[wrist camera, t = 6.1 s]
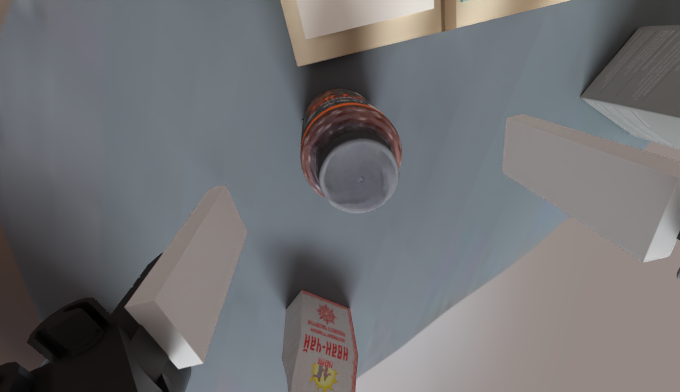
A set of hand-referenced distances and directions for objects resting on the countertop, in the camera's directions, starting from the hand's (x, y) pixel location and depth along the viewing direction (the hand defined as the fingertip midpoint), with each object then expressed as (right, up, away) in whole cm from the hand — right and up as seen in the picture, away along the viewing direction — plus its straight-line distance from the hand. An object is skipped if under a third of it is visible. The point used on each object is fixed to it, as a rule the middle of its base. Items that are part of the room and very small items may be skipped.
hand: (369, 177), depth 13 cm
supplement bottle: (-2, +5, +10) cm, 12 cm away
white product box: (-4, -14, +20) cm, 25 cm away
